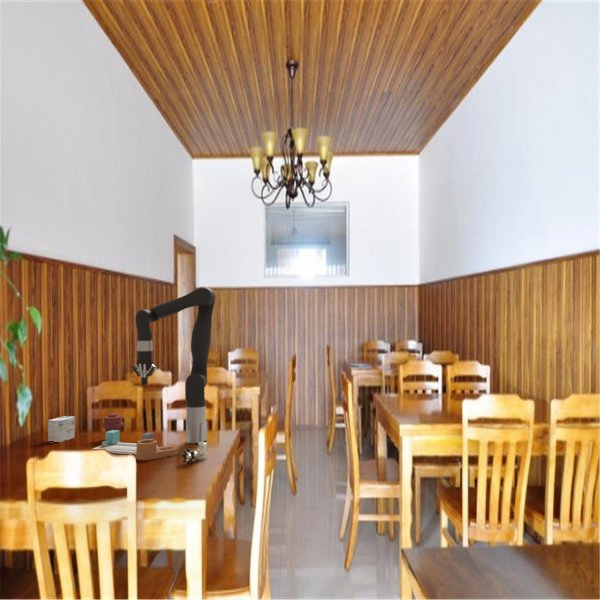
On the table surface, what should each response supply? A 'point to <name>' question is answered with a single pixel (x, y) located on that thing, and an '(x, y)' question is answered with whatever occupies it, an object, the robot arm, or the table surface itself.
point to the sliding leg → (112, 437)
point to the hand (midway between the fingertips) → (144, 385)
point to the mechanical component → (112, 422)
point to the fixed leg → (148, 436)
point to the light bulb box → (61, 428)
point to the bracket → (153, 450)
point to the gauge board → (120, 448)
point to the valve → (196, 453)
